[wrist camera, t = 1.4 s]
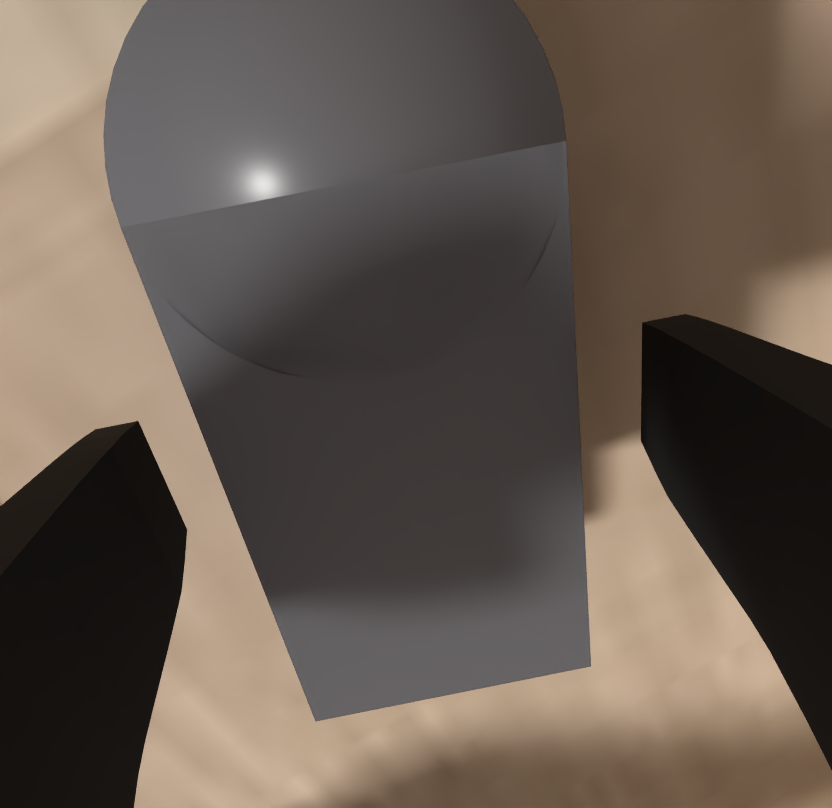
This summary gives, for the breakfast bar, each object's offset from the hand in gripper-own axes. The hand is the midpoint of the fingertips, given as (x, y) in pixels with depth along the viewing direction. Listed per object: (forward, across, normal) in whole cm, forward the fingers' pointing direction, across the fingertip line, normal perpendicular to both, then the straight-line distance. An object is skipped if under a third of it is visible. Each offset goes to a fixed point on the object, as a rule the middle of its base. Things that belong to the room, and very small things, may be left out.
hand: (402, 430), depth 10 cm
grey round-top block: (+3, 0, 0) cm, 4 cm away
